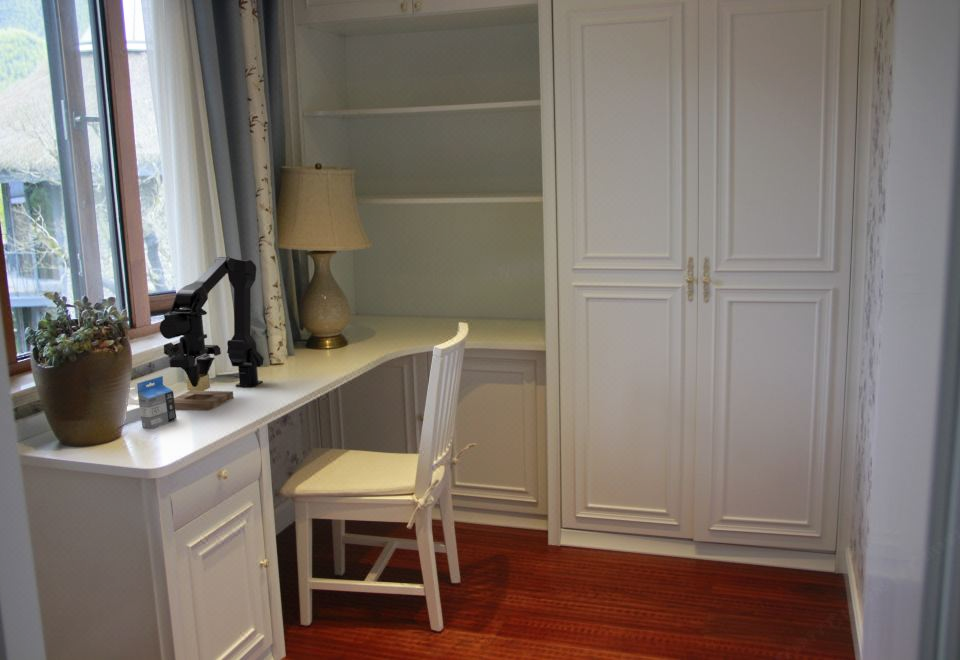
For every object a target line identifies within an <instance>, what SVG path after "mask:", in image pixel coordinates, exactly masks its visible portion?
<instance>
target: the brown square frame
mask: <svg viewBox="0 0 960 660" xmlns="http://www.w3.org/2000/svg"><path fill="white" fill-rule="evenodd" d="M233 398H234V392H233V391H232V390H231V391H230V390H229V391H228V390H224V391H223V390H204V391H188V390H187V391H186V392H184V393H182V394H180V395H178V396H176V397H174V402H175V410H176V411H180V410H181V411H207V412H208V411H209V412H210V411H211V410H213V409H215V408H217V407H219V406H221V405H223V404H225V403H227V402H229V401H230V400H232V399H233Z"/></svg>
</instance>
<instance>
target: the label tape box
mask: <svg viewBox="0 0 960 660" xmlns="http://www.w3.org/2000/svg"><path fill="white" fill-rule="evenodd" d="M150 384H153V385H150ZM148 385H149V386H148ZM136 386H137V393H138V399H139V406H140V414H141V419H140V420H141V427H142V428H143V429H155V428H158V427H161V426H163V425H166V424H169V423H172V422H175V421H177V410H175V402H174V398H175V396H174V391H173V390H172V389H171V388H169V387H167V386H166V385H164V376H163V375H162V376H158V377H155V378H151V379H148V380H147V379H146V380H145V381H142V382H138V383H137V385H136Z"/></svg>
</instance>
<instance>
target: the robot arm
mask: <svg viewBox="0 0 960 660" xmlns="http://www.w3.org/2000/svg"><path fill="white" fill-rule="evenodd" d="M226 275H227V276H228V281H229V283H230V284H231V286H232V288H233V329H234V330H233V336H232V338H231V339H228V340H227V343H226V344H227V351H226V353H227V354H228V359H229V362H230V364H231V366H232V367H238V368H237V369H238V378H239V379H238V380H239V382H238V383H236V384H235V387H246V388H247V387H251V388H252V387H253V388H254V387H256V386H258V385H260V384H262V383H263V380H259V373H258V368H259V367H261V366H263V365H264V358H265V357H263V356H262V354H261V353H259V351H258V350H257V343H256V341H255V339H254V337H253V336H252V333H251V327H252V326H251V288H252V287H253V285H254V283H255V282H256V278H257V277H256V276H257V265H256V264H255V263H254V262H253V260H251V259H236V258H232V257H230V256H219V257H216V258H215V259H214V262H213V263H212V264H211V265H210V266H209V267H208V268H207V269H206V270H205V271H204V272H203V273H202V274H201V275H200V276H199V277H198V278H197V279H196V280H195V281H194V282H192V283H189V284H187V285H184V286H183V287H182V288H180V289H179V290H178V291H177V292H176V294H175V297H174V300H173V301H172V302H173V303H172V304H171V308H170V310H169V313H166V314H164V315H163V316H164V319H162V321H160V324H159V327H158V328H159V332H160V335H162V337H163V338H165V339H167V340H171V339H175V338H178V337H179V342H177V343H174V344H173V343H172V342H169V343H165V344H164V345H163V354H164V355H166V356H168V358H169V361H168V363H169V368H181V370H184V372H185V374H186V377H188V378H189V380H190V382H191V384H192V386H193V387H196V386H197V382H198V376H199V374H209V371H210V368H211V367H212V364H213V362H214V361H215V357H217V356H219V355H221V354H222V352H221V351H222V350H221V347H220V346H219V345H218V344H205V342H206V341H205V339H207V338H208V334H207V333H206V334H204V333H205V332H204V323H203V316H205V315H207V314H208V312H207V311H206V310H204V309H203V307H204V305H205V304H206V303H207V301H208V300H209V293H210V292H211V290H213V288H215V286H216V285H217V284H218V283H219V282H221V280H222V279H223V278H224V277H225V276H226ZM211 355H213V356H215V357H211Z"/></svg>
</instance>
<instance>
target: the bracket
mask: <svg viewBox="0 0 960 660" xmlns="http://www.w3.org/2000/svg"><path fill="white" fill-rule="evenodd" d="M129 388H130V393H129V399H128V406H127V412H126V419H125V421H124V424H123V425H126V424H129V423H132V422H133V423H134V422H135V421H138V420H141V414H140V406H139V399H138V391H137V389H136V387H129Z"/></svg>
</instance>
